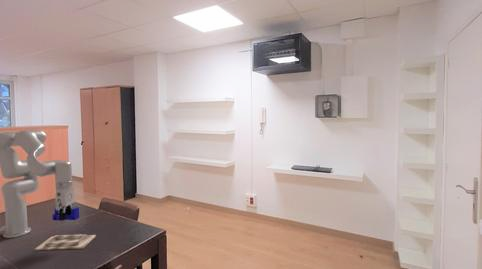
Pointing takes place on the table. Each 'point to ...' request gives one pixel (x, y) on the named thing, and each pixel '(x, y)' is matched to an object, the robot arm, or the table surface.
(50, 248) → the clip cradle
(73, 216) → the blue curved piece
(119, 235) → the table surface
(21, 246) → the table surface
